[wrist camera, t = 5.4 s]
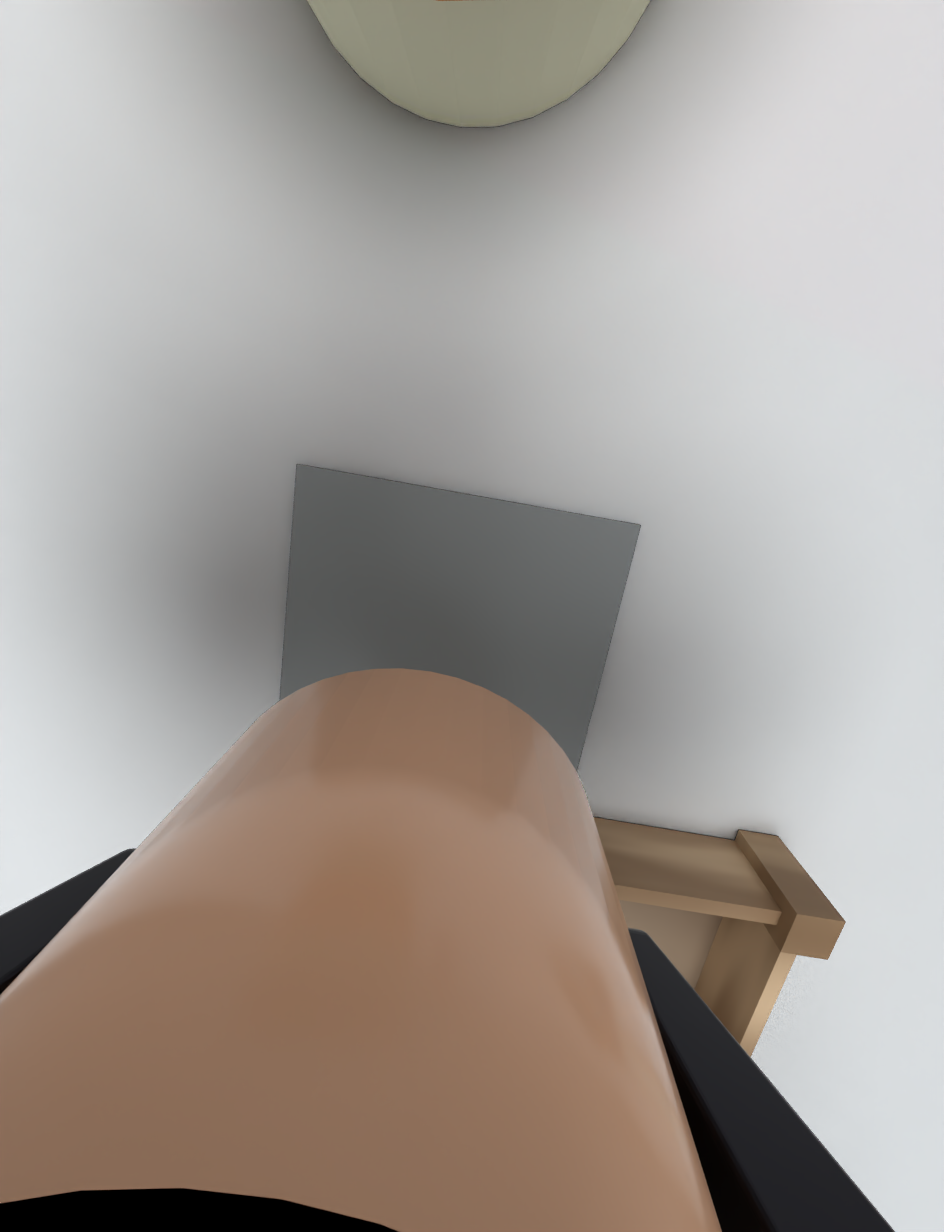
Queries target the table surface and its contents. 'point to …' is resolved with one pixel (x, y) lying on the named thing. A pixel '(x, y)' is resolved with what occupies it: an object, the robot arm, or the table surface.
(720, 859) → the brown wooden tray
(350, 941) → the terracotta pot
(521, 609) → the slate mat
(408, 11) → the reusable coffee cup
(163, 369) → the table surface
